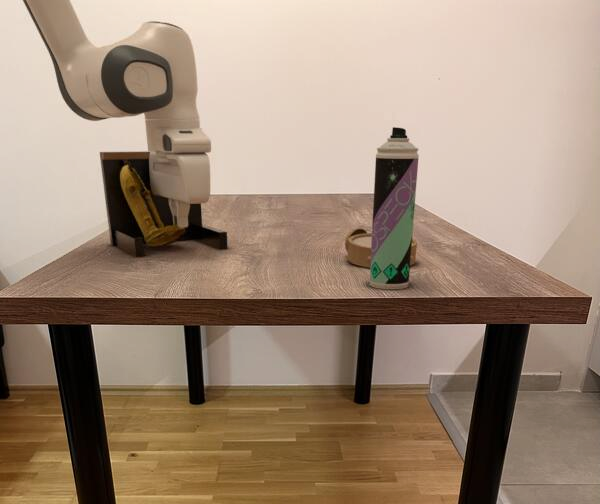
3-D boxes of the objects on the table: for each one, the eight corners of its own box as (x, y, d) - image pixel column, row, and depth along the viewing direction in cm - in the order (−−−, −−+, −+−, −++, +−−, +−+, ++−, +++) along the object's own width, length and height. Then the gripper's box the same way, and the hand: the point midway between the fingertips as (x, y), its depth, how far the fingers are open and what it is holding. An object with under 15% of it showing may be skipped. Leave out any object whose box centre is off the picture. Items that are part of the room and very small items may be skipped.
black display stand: (133, 257, 108) (122, 154, 101) (110, 244, 119) (99, 151, 113) (230, 248, 116) (226, 153, 109) (200, 238, 128) (194, 150, 121)
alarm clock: (356, 250, 98) (338, 220, 110) (354, 281, 100) (336, 248, 112) (427, 249, 99) (401, 219, 111) (422, 279, 102) (398, 247, 114)
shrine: (118, 250, 115) (105, 160, 109) (145, 244, 122) (134, 159, 116) (170, 251, 111) (160, 158, 105) (196, 245, 117) (187, 157, 111)
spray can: (362, 282, 91) (369, 127, 82) (395, 279, 93) (405, 127, 84) (382, 290, 86) (391, 127, 78) (416, 287, 88) (429, 127, 80)
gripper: (136, 138, 112) (145, 221, 118) (176, 140, 96) (184, 235, 102) (171, 138, 115) (177, 218, 121) (215, 140, 99) (220, 232, 105)
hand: (181, 226), depth 111 cm, fingers closed
